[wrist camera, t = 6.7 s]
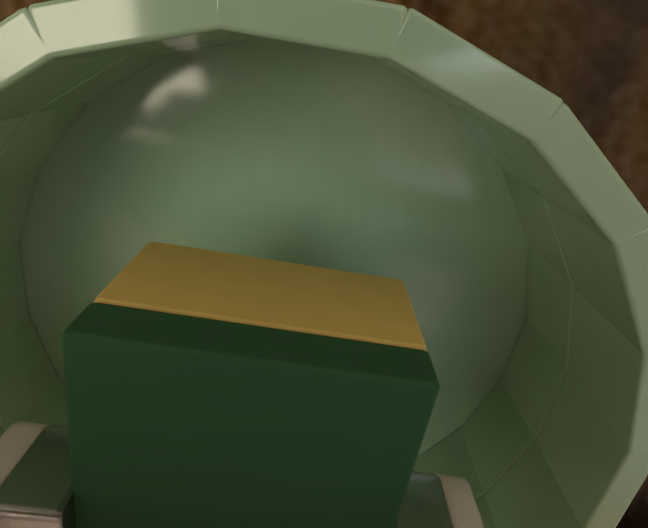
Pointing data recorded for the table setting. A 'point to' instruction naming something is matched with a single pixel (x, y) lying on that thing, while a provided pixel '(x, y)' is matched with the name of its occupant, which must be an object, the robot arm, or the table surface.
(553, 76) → the table surface
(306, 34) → the bowl
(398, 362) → the sponge
